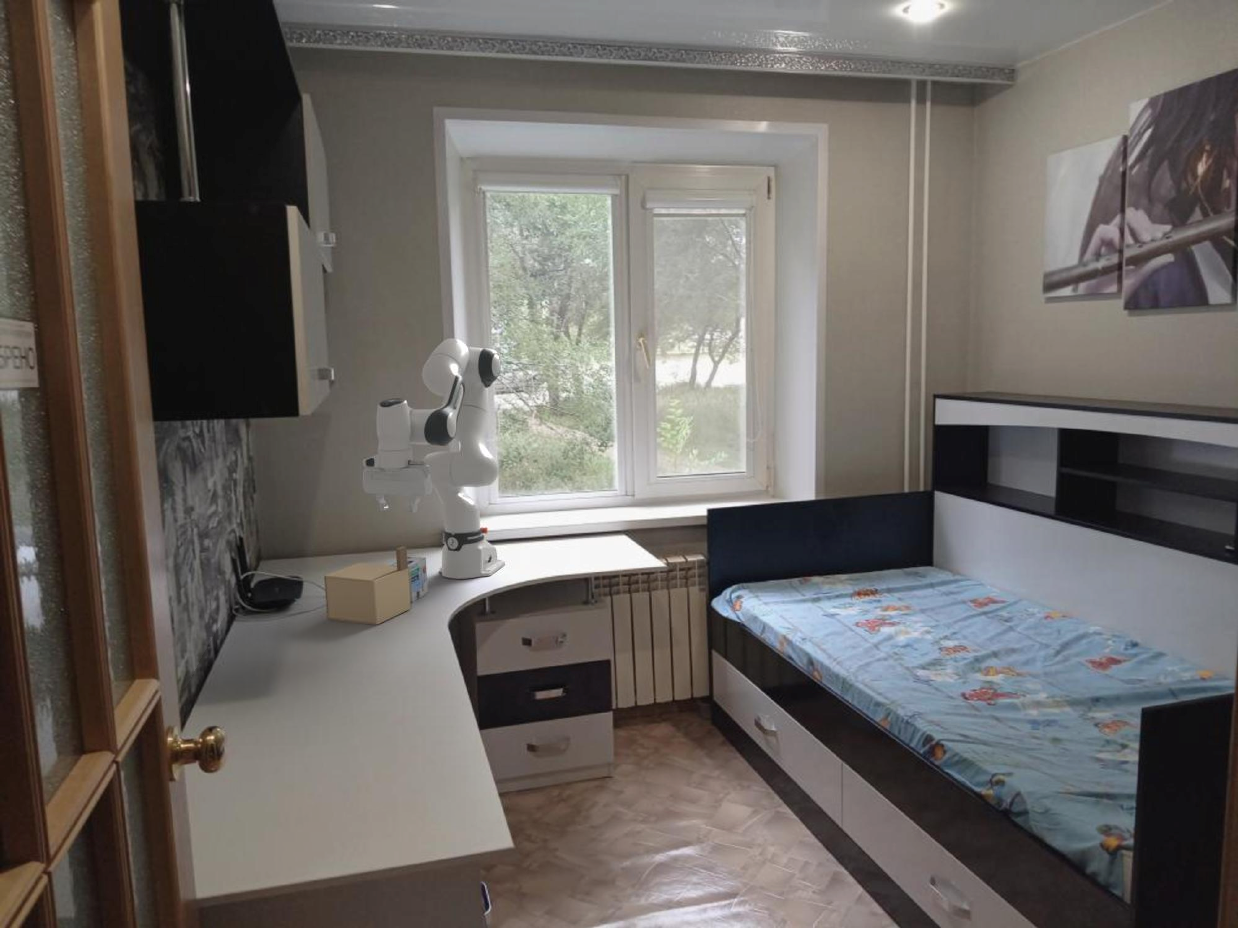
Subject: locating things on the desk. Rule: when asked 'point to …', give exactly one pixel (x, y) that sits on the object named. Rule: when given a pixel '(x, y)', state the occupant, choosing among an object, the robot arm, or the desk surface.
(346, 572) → the carton
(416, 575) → the light bulb box
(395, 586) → the side flap
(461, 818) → the desk surface
